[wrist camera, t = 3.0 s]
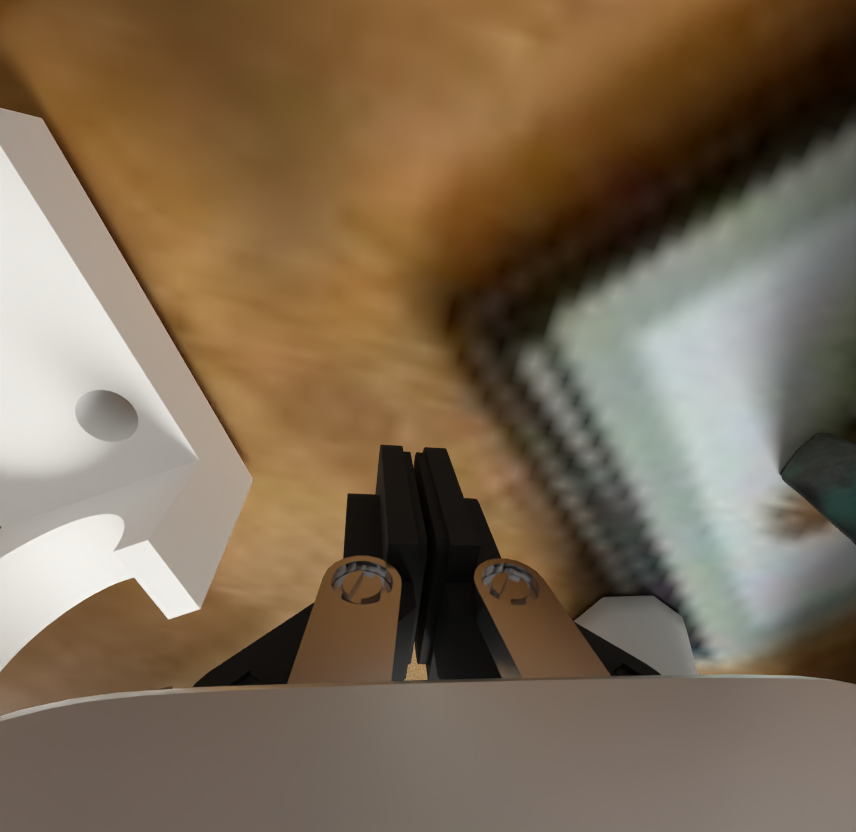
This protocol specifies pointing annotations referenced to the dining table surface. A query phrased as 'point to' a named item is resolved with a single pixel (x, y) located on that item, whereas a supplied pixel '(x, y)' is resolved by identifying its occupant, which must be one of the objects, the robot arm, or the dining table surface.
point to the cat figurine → (827, 479)
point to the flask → (643, 631)
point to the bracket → (94, 414)
